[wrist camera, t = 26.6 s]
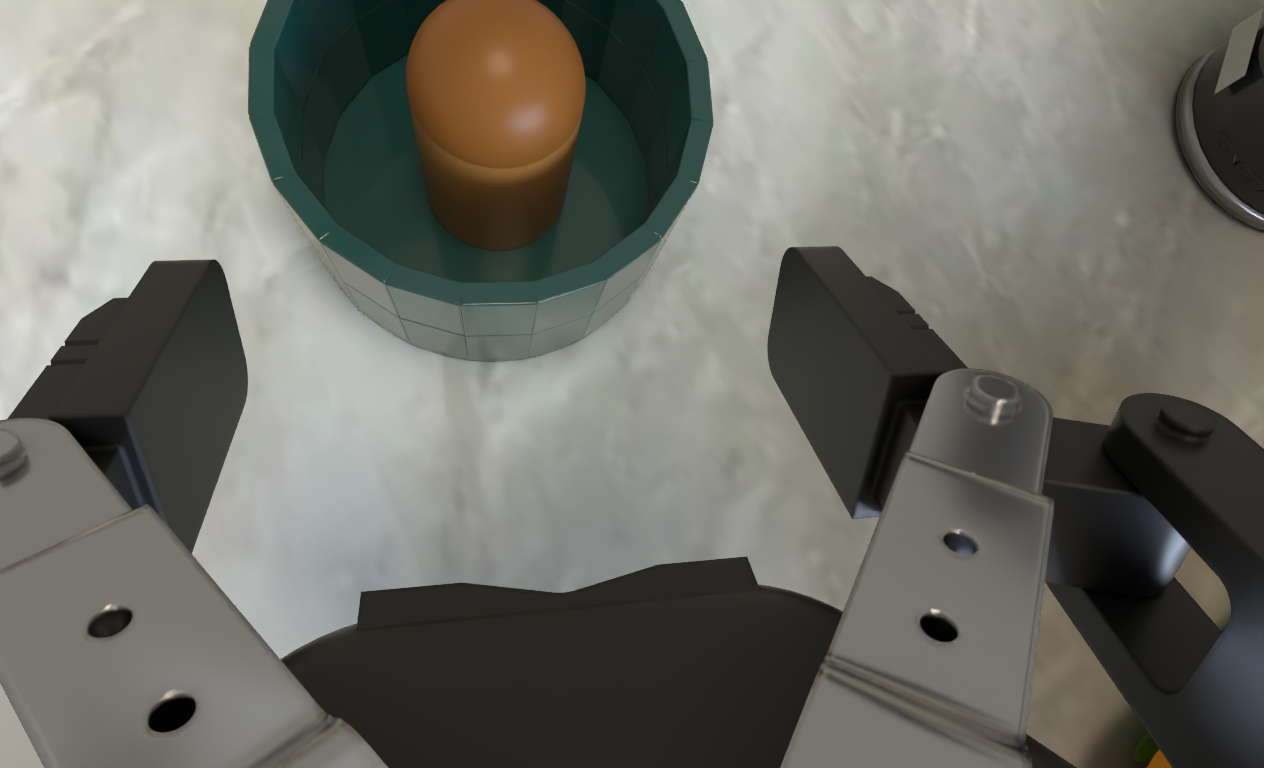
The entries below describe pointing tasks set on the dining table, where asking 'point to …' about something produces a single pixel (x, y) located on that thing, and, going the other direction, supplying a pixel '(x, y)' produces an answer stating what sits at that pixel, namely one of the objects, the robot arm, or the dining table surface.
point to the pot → (395, 189)
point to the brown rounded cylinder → (495, 117)
